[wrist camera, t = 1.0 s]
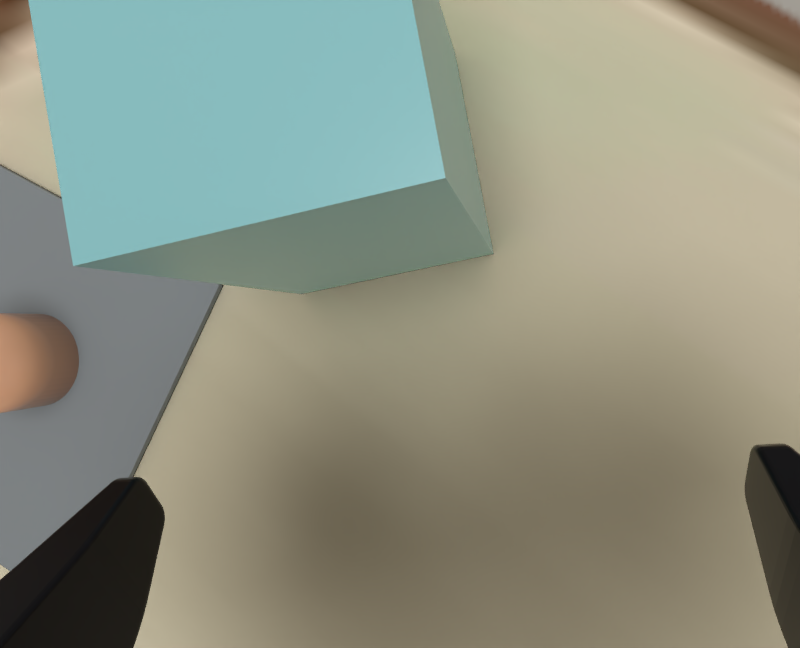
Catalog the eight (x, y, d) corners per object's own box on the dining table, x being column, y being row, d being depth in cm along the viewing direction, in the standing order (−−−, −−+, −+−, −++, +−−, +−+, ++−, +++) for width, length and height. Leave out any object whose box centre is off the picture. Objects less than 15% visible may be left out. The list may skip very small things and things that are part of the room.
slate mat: (71, 606, 26) (66, 609, 26) (-167, 443, 28) (-175, 445, 28) (222, 285, 24) (219, 284, 24) (-41, 142, 27) (-48, 140, 27)
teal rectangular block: (493, 253, 22) (445, 177, 11) (301, 294, 24) (72, 265, 12) (455, 54, 23) (367, -233, 11) (267, 105, 24) (11, -100, 12)
